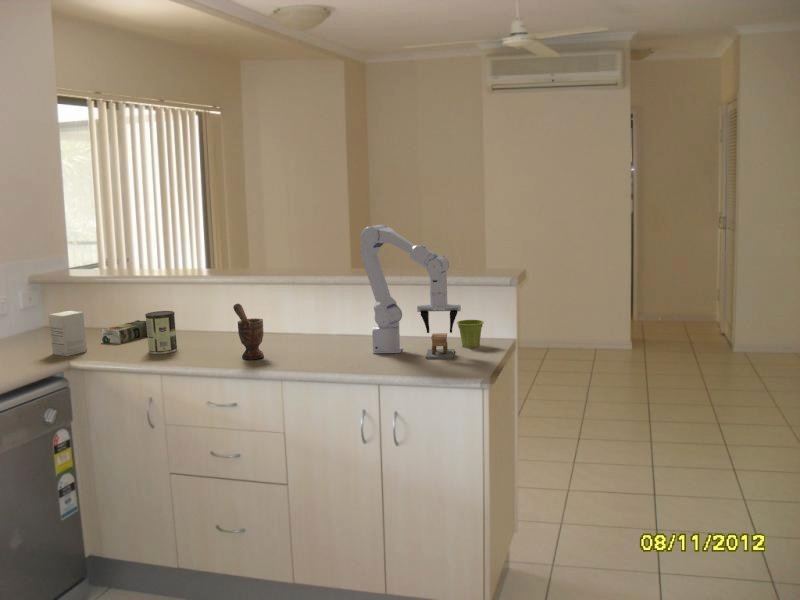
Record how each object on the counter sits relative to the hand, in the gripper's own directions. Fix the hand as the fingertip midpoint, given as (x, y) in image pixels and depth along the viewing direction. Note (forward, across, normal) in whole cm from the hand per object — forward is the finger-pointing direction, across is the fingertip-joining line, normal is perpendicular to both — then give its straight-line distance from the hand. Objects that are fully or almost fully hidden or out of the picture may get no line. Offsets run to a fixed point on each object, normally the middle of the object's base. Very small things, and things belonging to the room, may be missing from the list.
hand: (439, 332), depth 299 cm
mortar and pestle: (+8, -65, -2) cm, 65 cm away
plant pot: (+8, +10, +14) cm, 19 cm away
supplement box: (+9, -137, +12) cm, 138 cm away
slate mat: (+8, 0, 0) cm, 8 cm away
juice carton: (+9, -125, +38) cm, 131 cm away
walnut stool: (+7, 0, 0) cm, 7 cm away
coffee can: (+8, -102, +13) cm, 103 cm away
